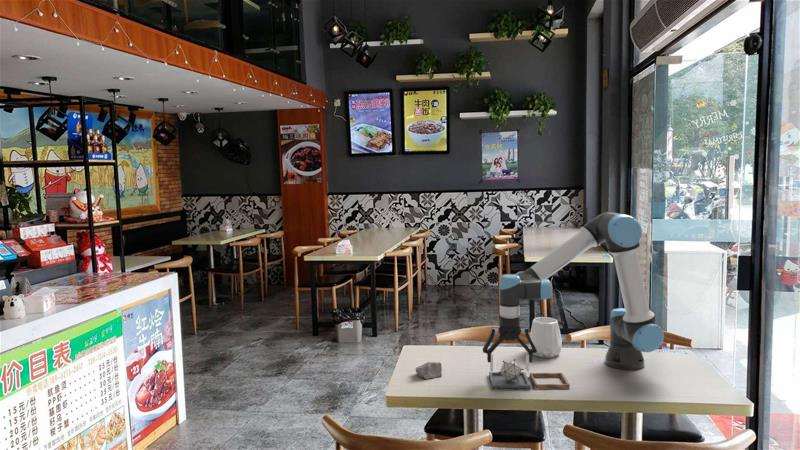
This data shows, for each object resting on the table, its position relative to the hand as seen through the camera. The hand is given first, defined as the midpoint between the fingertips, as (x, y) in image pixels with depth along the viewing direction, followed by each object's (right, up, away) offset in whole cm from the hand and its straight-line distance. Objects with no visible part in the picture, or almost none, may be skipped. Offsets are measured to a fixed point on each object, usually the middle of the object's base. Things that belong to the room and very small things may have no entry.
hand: (509, 370), depth 230 cm
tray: (0, -5, +1) cm, 5 cm away
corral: (+15, -5, 0) cm, 16 cm away
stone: (-30, -5, +9) cm, 32 cm away
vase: (+22, -1, +33) cm, 40 cm away
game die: (+1, -4, 0) cm, 4 cm away
